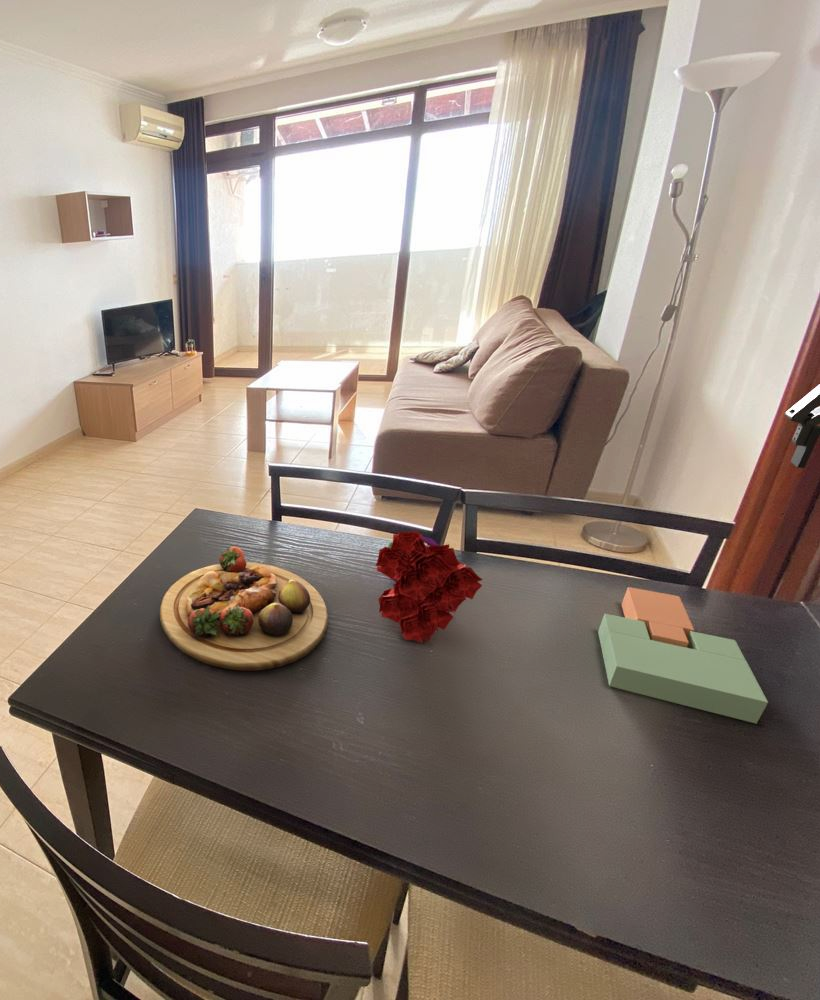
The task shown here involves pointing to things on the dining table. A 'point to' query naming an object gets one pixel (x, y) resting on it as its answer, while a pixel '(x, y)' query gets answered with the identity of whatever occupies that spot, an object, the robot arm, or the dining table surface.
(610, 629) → the green pad
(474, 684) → the dining table surface
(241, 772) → the dining table surface
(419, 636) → the bouquet
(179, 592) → the wooden plate
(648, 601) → the peach pad
